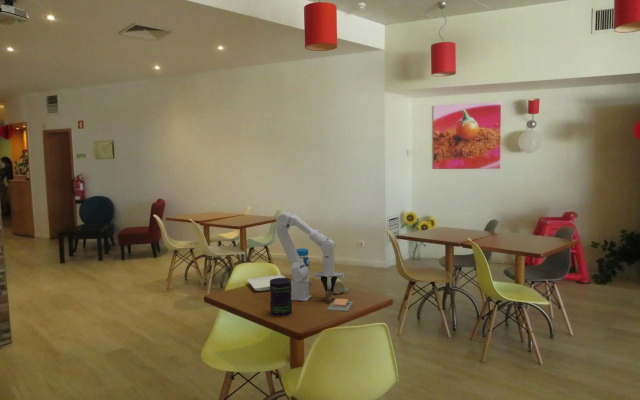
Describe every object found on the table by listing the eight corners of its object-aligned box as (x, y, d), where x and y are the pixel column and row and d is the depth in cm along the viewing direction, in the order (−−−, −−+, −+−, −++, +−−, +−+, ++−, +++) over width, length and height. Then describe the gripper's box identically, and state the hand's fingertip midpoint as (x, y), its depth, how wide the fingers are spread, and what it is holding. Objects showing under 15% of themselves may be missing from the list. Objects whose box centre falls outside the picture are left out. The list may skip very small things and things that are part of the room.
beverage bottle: (292, 285, 261) (291, 249, 259) (304, 282, 266) (303, 247, 264) (300, 288, 254) (300, 251, 252) (313, 285, 259) (312, 249, 257)
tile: (335, 300, 226) (333, 306, 220) (335, 298, 226) (332, 304, 220) (348, 301, 225) (345, 307, 219) (348, 299, 224) (345, 304, 218)
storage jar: (283, 307, 221) (282, 276, 219) (296, 312, 214) (295, 280, 212) (266, 313, 214) (264, 280, 213) (279, 318, 207) (278, 284, 206)
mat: (326, 310, 216) (326, 308, 216) (333, 301, 230) (332, 299, 229) (348, 311, 214) (348, 309, 214) (353, 302, 227) (353, 300, 227)
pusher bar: (325, 302, 228) (325, 292, 227) (328, 297, 235) (328, 288, 234) (330, 302, 227) (330, 292, 227) (333, 298, 234) (333, 288, 234)
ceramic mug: (331, 295, 240) (331, 280, 239) (326, 291, 247) (326, 276, 247) (351, 293, 243) (351, 279, 242) (345, 289, 250) (345, 275, 250)
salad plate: (254, 294, 246) (254, 287, 245) (245, 284, 266) (245, 278, 265) (293, 289, 253) (293, 283, 253) (281, 280, 273) (281, 274, 273)
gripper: (312, 265, 227) (313, 293, 228) (341, 266, 224) (342, 294, 225) (315, 262, 234) (316, 289, 235) (344, 263, 231) (345, 290, 232)
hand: (329, 291), depth 231 cm, fingers closed on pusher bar, 2 cm apart
